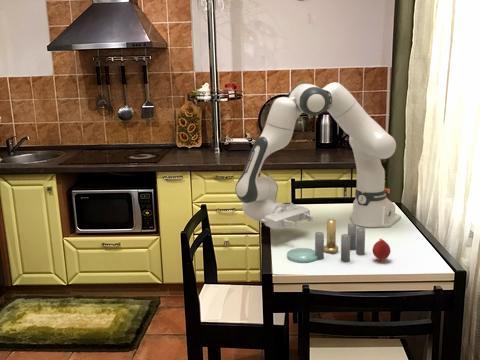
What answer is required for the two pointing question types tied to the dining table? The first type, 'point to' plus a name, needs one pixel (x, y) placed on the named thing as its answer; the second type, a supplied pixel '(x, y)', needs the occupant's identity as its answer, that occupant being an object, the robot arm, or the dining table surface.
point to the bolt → (331, 237)
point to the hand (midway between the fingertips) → (303, 221)
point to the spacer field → (343, 243)
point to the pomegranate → (381, 250)
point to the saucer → (302, 255)
